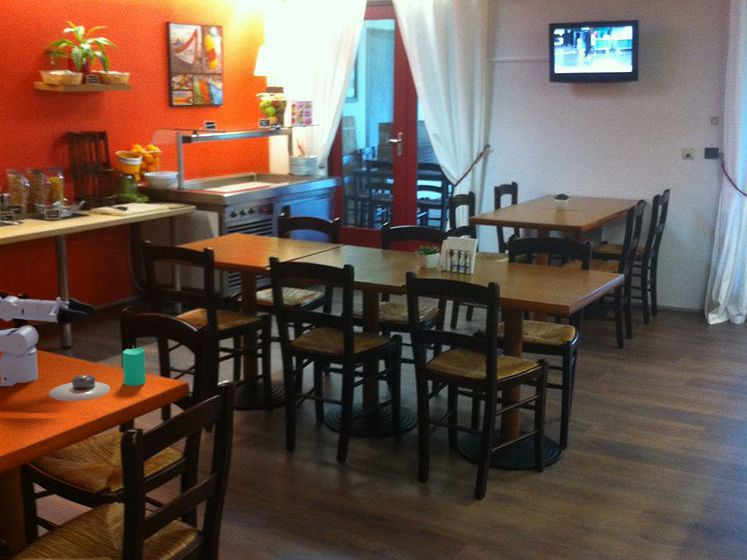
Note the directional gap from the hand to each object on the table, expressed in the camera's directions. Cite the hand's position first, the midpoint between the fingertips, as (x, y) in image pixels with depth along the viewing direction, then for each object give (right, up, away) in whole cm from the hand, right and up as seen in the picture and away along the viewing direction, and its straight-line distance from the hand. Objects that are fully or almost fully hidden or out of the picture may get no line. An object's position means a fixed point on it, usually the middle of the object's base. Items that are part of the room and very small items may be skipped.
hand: (90, 313), depth 253 cm
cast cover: (-1, -20, -2) cm, 20 cm away
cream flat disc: (-1, -22, -6) cm, 23 cm away
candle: (+12, -21, +2) cm, 24 cm away
